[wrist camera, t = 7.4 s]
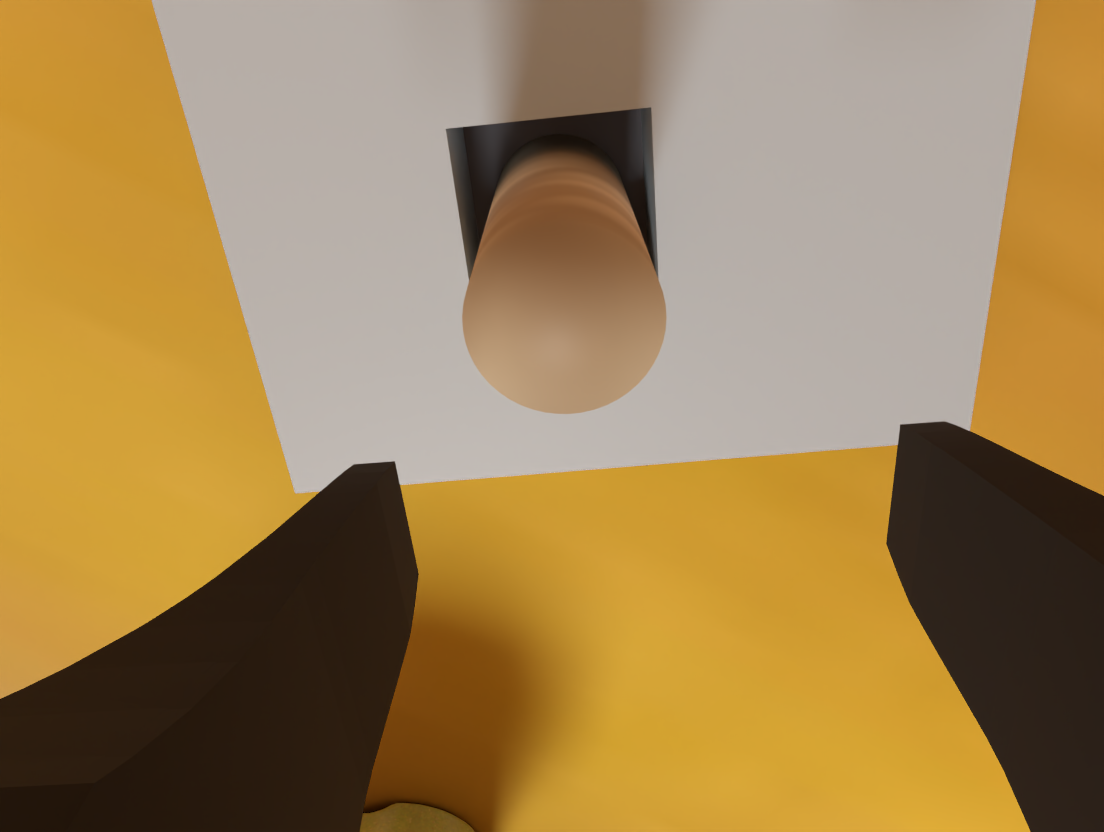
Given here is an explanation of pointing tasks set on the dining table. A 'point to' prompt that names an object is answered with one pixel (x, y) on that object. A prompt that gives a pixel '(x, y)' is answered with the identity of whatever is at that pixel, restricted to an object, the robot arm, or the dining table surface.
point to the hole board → (656, 199)
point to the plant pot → (412, 820)
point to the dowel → (563, 283)
